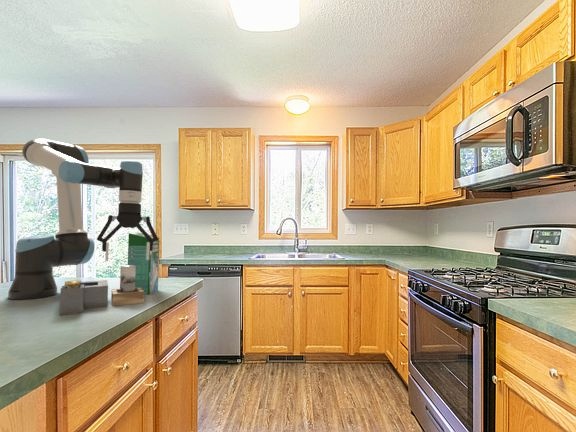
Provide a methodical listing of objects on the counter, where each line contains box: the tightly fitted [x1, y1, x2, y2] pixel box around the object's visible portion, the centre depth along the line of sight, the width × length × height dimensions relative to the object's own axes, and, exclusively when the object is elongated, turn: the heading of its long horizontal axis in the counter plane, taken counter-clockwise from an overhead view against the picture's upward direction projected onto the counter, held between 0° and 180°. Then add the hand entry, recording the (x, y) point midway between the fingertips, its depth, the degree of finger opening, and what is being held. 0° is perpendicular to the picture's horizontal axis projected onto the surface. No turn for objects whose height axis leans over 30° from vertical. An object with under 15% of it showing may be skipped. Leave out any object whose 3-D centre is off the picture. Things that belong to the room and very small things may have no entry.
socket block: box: [59, 279, 109, 316], centre depth 111 cm, size 19×13×8 cm
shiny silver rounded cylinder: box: [119, 264, 136, 293], centre depth 118 cm, size 5×5×12 cm
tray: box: [110, 287, 145, 307], centre depth 118 cm, size 10×10×4 cm
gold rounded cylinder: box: [64, 280, 82, 288], centre depth 103 cm, size 4×4×7 cm
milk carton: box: [127, 232, 160, 296], centre depth 135 cm, size 9×9×25 cm
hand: (127, 260), depth 119 cm, fingers open, 13 cm apart
